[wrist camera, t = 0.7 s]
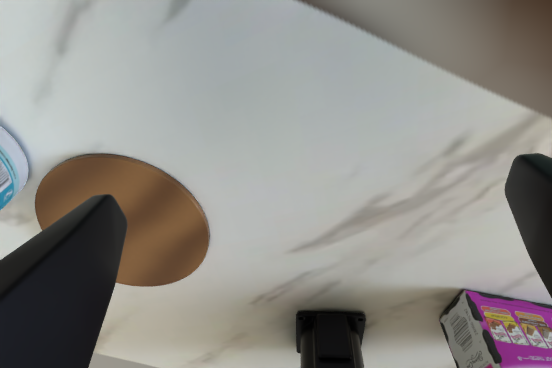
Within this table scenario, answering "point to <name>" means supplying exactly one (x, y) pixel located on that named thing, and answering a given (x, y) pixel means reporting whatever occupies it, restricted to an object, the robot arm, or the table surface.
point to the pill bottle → (11, 168)
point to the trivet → (133, 214)
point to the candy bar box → (498, 332)
